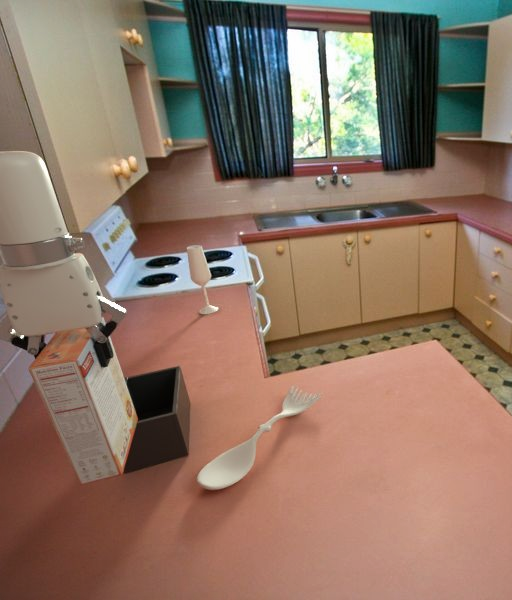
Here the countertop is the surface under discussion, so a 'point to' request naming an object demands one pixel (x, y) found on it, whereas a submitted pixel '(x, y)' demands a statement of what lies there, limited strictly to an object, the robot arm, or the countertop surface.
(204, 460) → the countertop surface
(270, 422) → the spoon
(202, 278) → the champagne flute
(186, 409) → the open box
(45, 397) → the cracker box
